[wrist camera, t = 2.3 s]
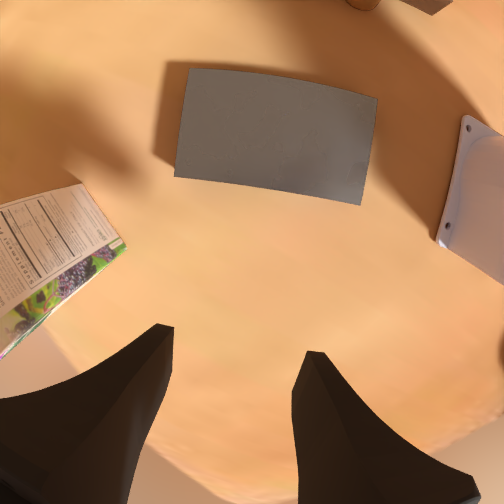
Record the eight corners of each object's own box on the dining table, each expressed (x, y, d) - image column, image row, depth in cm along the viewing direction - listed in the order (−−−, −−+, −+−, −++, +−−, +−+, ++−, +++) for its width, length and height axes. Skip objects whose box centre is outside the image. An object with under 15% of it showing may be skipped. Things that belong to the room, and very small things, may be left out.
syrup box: (83, 287, 20) (-43, 415, 6) (41, 226, 18) (-108, 311, 4) (130, 246, 18) (-30, 394, 5) (81, 178, 17) (-111, 242, 3)
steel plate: (347, 198, 17) (360, 205, 15) (185, 173, 17) (173, 176, 15) (363, 105, 15) (377, 98, 13) (199, 78, 15) (189, 68, 13)
